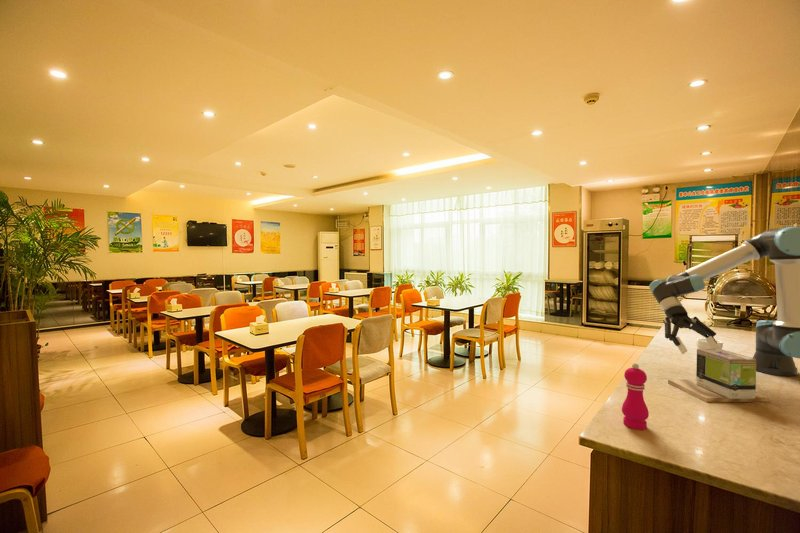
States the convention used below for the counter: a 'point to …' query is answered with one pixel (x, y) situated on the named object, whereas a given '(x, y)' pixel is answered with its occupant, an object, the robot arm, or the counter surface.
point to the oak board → (710, 392)
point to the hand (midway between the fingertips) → (701, 352)
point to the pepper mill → (635, 399)
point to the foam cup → (706, 343)
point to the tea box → (726, 373)
